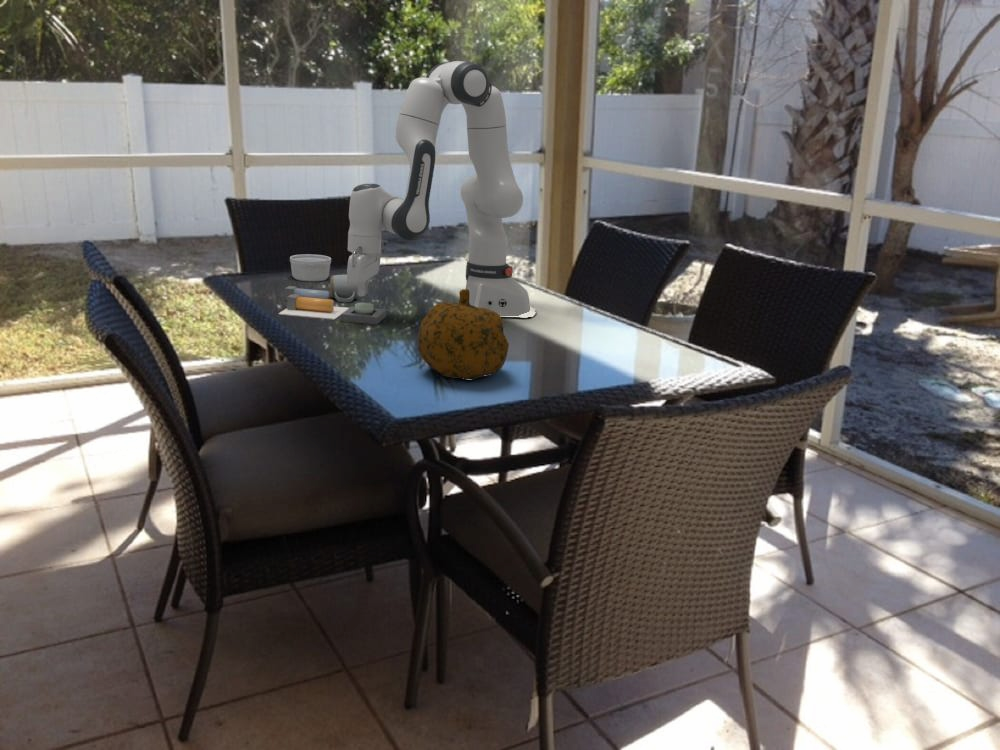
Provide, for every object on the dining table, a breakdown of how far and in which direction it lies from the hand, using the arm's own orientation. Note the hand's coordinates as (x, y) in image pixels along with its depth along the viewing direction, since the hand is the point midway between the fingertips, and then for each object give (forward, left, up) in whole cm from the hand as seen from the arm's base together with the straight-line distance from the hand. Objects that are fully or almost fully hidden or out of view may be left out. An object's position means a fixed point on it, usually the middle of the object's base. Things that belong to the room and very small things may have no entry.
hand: (362, 295), depth 258 cm
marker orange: (+16, -3, -6) cm, 17 cm away
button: (-1, 0, -5) cm, 5 cm away
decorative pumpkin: (-36, +42, -7) cm, 55 cm away
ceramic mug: (+11, -22, -7) cm, 26 cm away
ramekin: (+30, -47, -7) cm, 57 cm away
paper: (+14, -3, -7) cm, 16 cm away
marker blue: (+21, -15, -7) cm, 27 cm away
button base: (-1, 0, -7) cm, 7 cm away
